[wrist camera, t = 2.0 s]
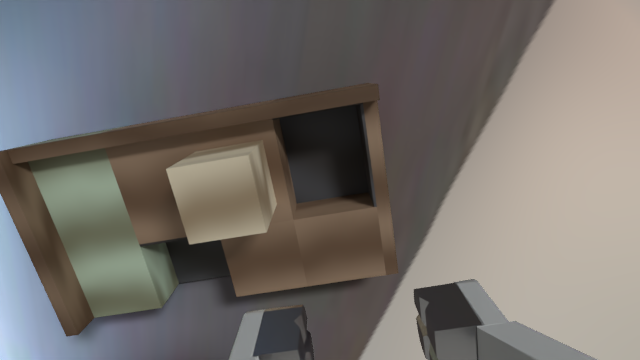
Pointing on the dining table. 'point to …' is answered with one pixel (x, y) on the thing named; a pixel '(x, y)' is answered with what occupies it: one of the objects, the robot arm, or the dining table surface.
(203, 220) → the maple block
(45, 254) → the board
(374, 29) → the dining table surface
